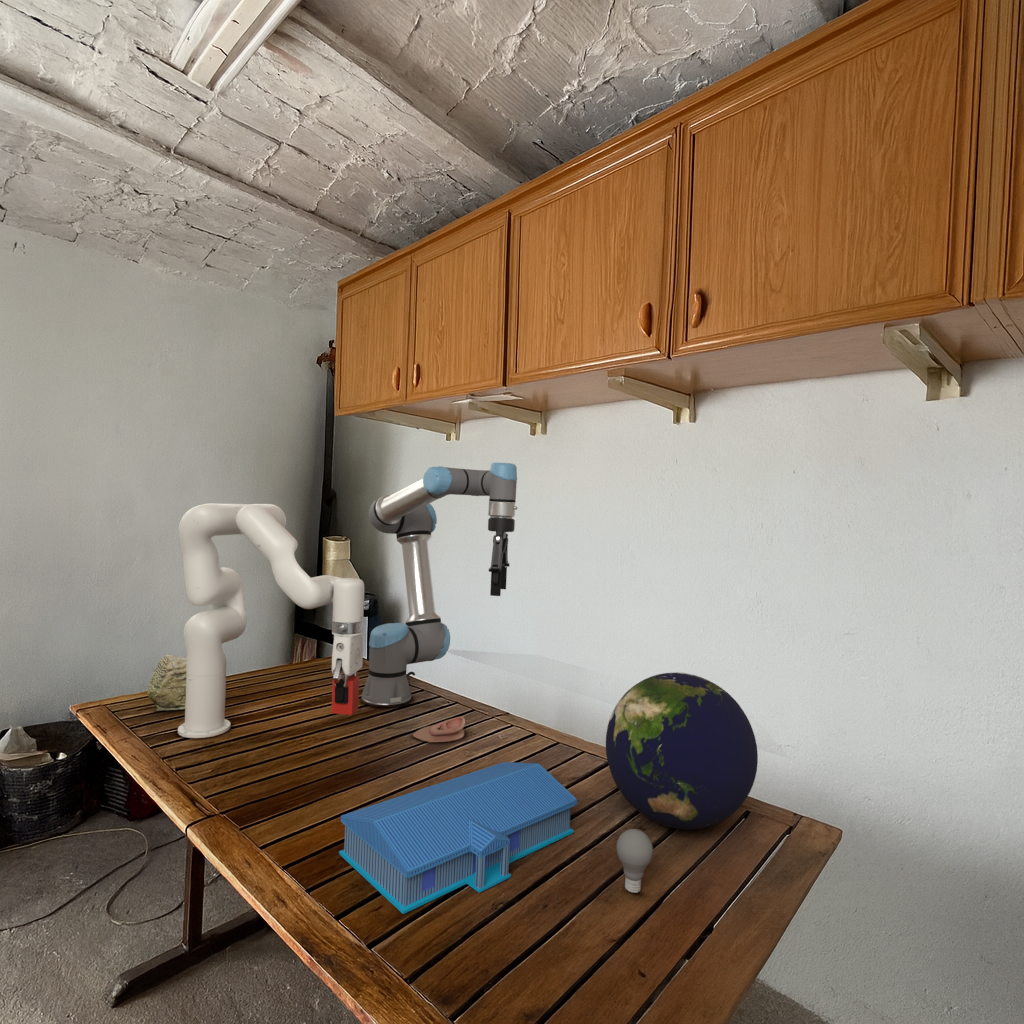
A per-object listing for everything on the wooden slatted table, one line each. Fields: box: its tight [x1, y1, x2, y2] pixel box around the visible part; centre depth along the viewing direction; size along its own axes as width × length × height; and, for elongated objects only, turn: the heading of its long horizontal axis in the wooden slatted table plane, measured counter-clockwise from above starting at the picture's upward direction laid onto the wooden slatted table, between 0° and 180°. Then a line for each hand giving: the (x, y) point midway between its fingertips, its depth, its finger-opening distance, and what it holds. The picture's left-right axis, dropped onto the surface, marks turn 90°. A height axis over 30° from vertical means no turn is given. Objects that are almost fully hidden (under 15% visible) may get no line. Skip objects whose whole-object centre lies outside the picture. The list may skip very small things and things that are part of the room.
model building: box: [338, 761, 578, 915], centre depth 117 cm, size 39×24×10 cm, turn 132°
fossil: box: [147, 654, 187, 712], centre depth 185 cm, size 9×18×15 cm, turn 132°
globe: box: [605, 671, 759, 831], centre depth 130 cm, size 30×30×30 cm
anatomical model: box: [412, 716, 466, 743], centre depth 171 cm, size 13×4×12 cm
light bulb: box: [615, 828, 654, 894], centre depth 106 cm, size 6×6×10 cm
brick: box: [330, 675, 360, 716], centre depth 160 cm, size 5×5×8 cm
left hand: (345, 698), depth 160 cm, fingers closed on brick, 4 cm apart
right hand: (498, 592), depth 180 cm, fingers open, 13 cm apart
